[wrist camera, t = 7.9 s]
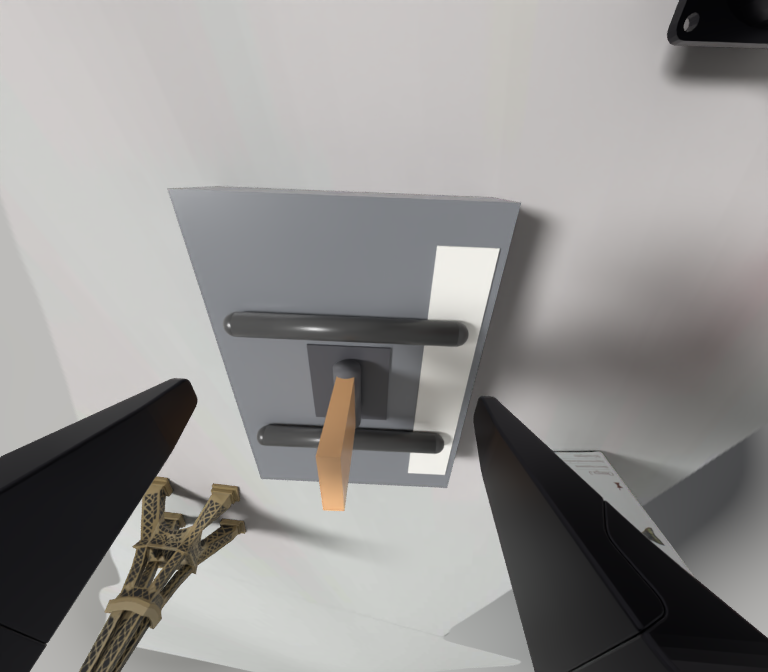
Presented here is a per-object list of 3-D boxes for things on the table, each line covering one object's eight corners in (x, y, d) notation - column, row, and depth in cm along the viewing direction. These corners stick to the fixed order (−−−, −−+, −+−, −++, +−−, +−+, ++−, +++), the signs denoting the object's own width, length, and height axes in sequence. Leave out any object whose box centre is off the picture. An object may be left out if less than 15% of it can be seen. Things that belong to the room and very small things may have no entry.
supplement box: (602, 448, 26) (752, 642, 15) (577, 492, 30) (683, 674, 19) (524, 448, 26) (616, 637, 16) (508, 491, 30) (574, 669, 19)
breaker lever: (361, 359, 16) (347, 454, 11) (362, 412, 19) (350, 513, 13) (335, 358, 16) (307, 453, 11) (338, 411, 19) (317, 512, 13)
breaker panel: (492, 197, 16) (535, 205, 11) (440, 447, 27) (449, 504, 22) (216, 186, 16) (142, 189, 11) (278, 440, 27) (254, 495, 22)
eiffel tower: (143, 474, 31) (-457, 1182, 9) (238, 485, 31) (-109, 1173, 10) (165, 521, 36) (-180, 1040, 14) (246, 530, 37) (33, 1041, 15)
